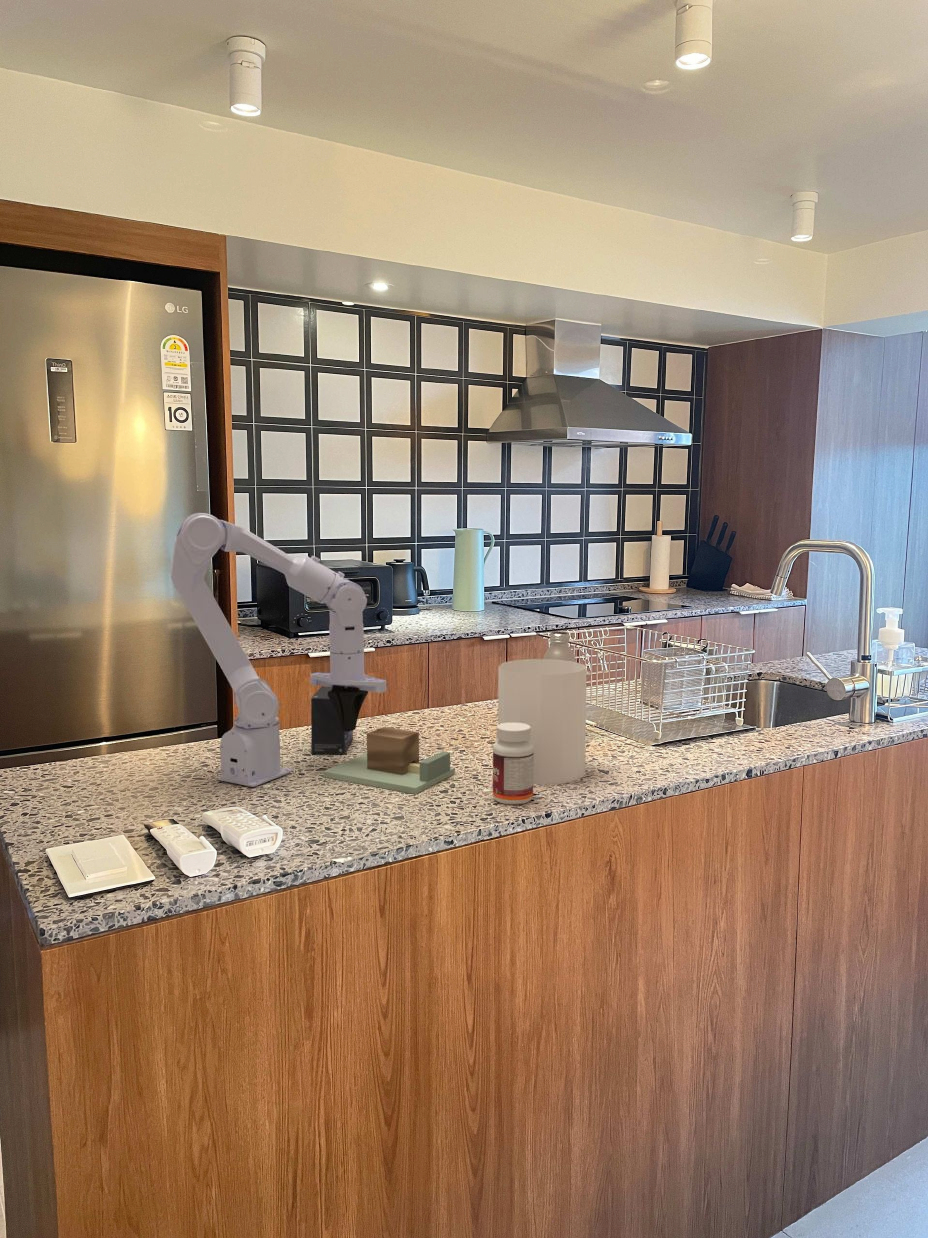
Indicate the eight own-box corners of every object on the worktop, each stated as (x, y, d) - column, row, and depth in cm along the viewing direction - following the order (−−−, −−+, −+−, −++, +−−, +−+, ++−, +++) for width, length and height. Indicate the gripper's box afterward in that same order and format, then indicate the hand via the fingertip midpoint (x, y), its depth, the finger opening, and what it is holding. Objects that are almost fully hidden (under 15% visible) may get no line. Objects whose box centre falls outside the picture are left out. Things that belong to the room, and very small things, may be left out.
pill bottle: (490, 793, 137) (490, 721, 135) (529, 791, 137) (530, 720, 136) (495, 806, 130) (495, 732, 129) (536, 805, 131) (537, 730, 130)
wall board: (415, 794, 136) (415, 769, 135) (323, 777, 145) (322, 753, 144) (454, 773, 146) (454, 750, 146) (366, 758, 155) (365, 736, 155)
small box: (346, 755, 158) (345, 697, 156) (310, 755, 158) (308, 697, 156) (355, 739, 168) (354, 685, 167) (321, 739, 168) (319, 685, 167)
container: (489, 763, 153) (489, 661, 151) (566, 757, 156) (568, 657, 154) (514, 789, 139) (514, 676, 137) (598, 781, 143) (600, 672, 140)
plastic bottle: (538, 738, 169) (539, 634, 166) (545, 729, 175) (546, 629, 173) (571, 740, 167) (573, 636, 164) (577, 731, 173) (579, 631, 171)
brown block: (402, 775, 142) (402, 739, 142) (367, 769, 146) (366, 733, 145) (419, 767, 147) (418, 732, 146) (384, 761, 150) (384, 727, 149)
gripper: (396, 651, 148) (397, 729, 150) (327, 644, 155) (329, 720, 157) (371, 657, 142) (373, 739, 144) (301, 650, 149) (304, 729, 151)
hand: (348, 730), depth 150 cm, fingers closed
